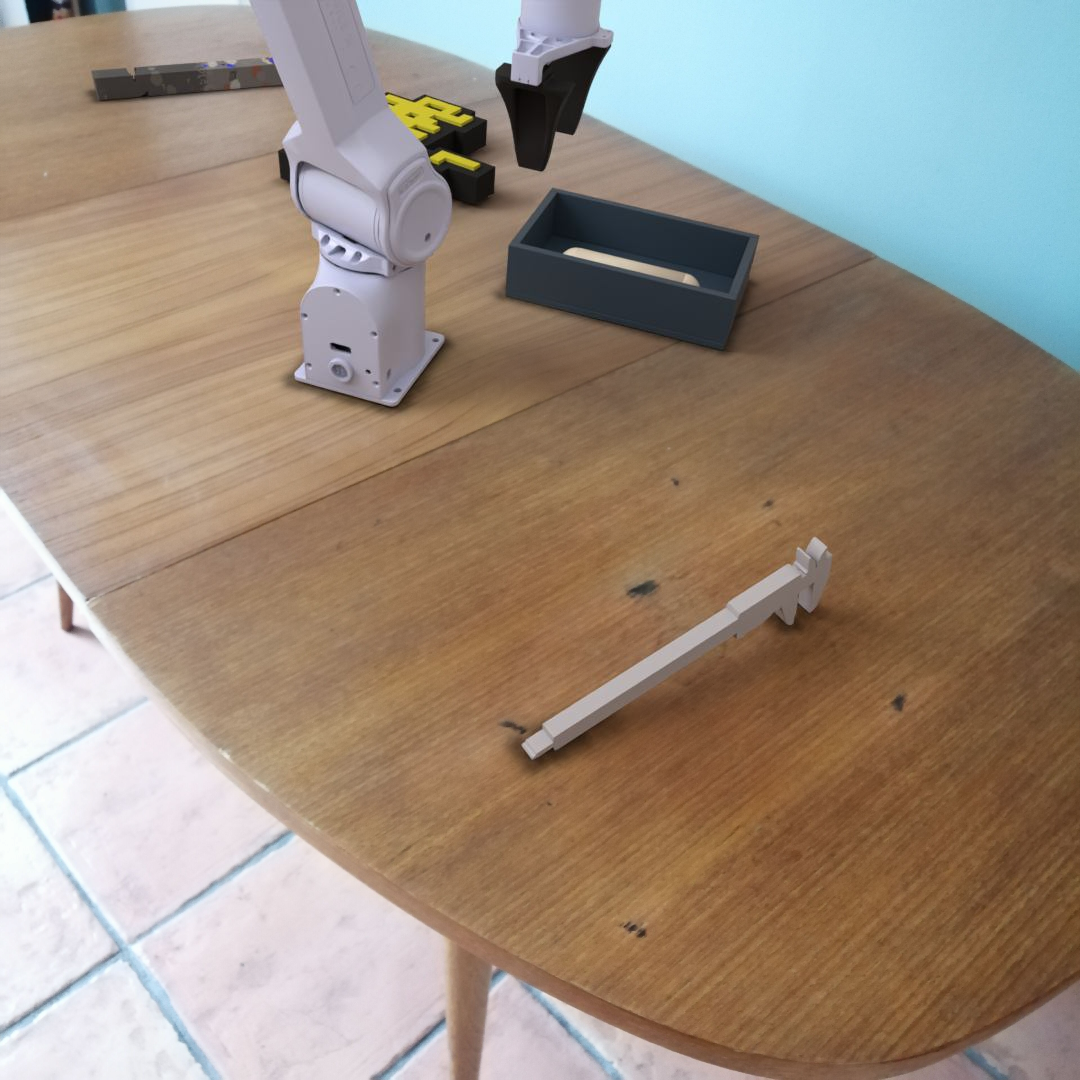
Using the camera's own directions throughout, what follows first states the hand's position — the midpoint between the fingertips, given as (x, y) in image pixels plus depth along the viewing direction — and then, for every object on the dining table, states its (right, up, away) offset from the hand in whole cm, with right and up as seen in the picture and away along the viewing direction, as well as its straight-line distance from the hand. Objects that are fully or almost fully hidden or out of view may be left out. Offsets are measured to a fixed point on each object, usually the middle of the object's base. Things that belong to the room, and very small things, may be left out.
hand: (547, 149), depth 79 cm
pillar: (-37, +17, +28) cm, 50 cm away
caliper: (+7, -39, -23) cm, 46 cm away
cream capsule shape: (+7, -9, +4) cm, 12 cm away
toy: (-13, +5, +19) cm, 23 cm away
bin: (+7, -10, +6) cm, 13 cm away
